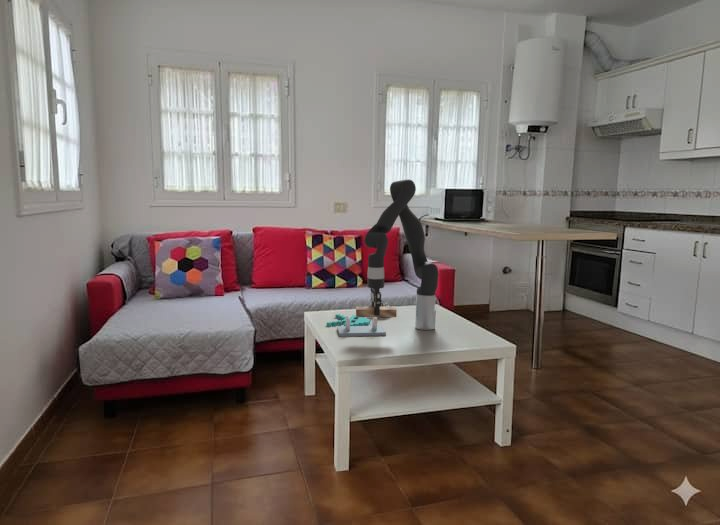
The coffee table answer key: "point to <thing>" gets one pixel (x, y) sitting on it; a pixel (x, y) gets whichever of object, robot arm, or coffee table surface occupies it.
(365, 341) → the coffee table surface
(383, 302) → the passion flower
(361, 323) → the alien figure
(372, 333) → the peg stand
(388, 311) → the shelf board
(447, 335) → the coffee table surface
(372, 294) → the robot arm
